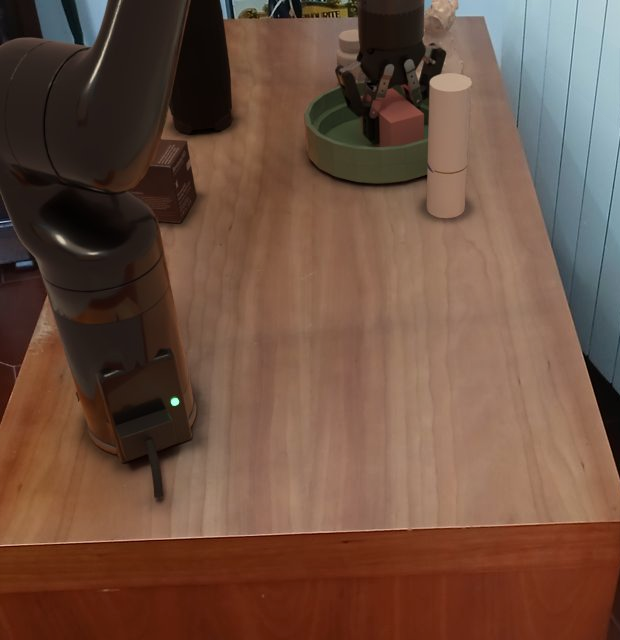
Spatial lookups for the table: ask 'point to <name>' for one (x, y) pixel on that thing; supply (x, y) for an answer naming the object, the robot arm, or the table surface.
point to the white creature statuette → (442, 34)
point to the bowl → (359, 143)
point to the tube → (448, 144)
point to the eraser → (398, 121)
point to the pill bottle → (349, 50)
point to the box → (168, 182)
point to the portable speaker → (202, 72)
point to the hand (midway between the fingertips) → (391, 136)
